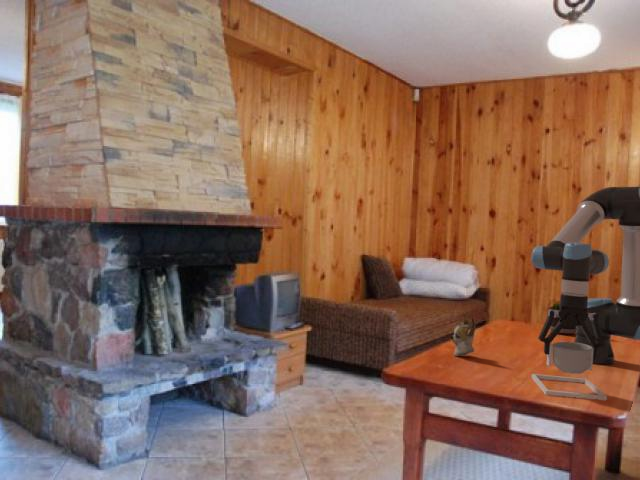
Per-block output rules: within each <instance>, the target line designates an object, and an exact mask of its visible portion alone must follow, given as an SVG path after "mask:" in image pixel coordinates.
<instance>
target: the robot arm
mask: <svg viewBox="0 0 640 480" xmlns="http://www.w3.org/2000/svg"><path fill="white" fill-rule="evenodd" d="M604 220H618V226H619V227H620V228H621V229H622V231H623V234H622V264H621V265H622V266H621V270H622V271H621V296H620V297H618V298H617V299H616V303H615V301H614V299H613V298H604V297H603V298H602V297H601V298H598V297H597V298H595V297H594V298H588V296H587V295H589V290H590V277H591V275H599V274H602V273H604V272H605V271H606V270H607V269H608V267H609V265H610V262H609V261H610V260H609V256H608V255H607V254H606V253H605V252H603V251H602V250H599V249H592V248H593V247H592V245H591V244H589V243H582V241H583V240H584V239H585V238H586V237H587V235H588V234H590V232H591V230H592V229H593V228H594V227H595V226H596V225H600V224H601V223H602V222H603V221H604ZM531 262H532V265H533V266H534V267H535V268H536V269H542V270H549V271H559V272H560V271H561V272H562V274H561V275H562V276H561V286H560V292H561V294H560V295H559V297H560V298H559V299H560V300H559V304H560V308H559V310H558V311H554V310H549V309H547V311H548V315H547V317H546V320H545V322H544V323H543V327H542V328H541V331H540V333H539V335H538V338H537V339H538V340H539V341H540V342H542V343H544V346H543V347H544V348H543V353H544V355H546V366H548V367H552V365H553V345H552V344H553V343H552V341H553V340H554V339H555V338H556V337H557V335H559V334H558V333H559V332H560V330H561V329H562V328H563V327H564V326H565V325H574V326H576V328H577V331H576V333H575V335H576V336H575V338H574V341H573V342H576V343H582V344H586V345H589V346H591V347H592V358H591V366H590V368H589V369H588V370H589V371H593V364H598V365H613V364H614V363H615V353H614V350H613V349H614V348H613V347H612V342H611V336H614V337H620V338H627V339H631V340H635V341H640V186H610V187H605V188H601V189H599V190H597V191H595V192H594V193H591V194H590V195H588V196H587V197H585V198H584V199H583V200H581V202H580V203H579V204H578V206H577V207H576V212H575V213H574V214H573V215H572V217H571V218H570V219H569V220H568V221H567V222H566V223H565V225H564V226H563V227H562V228H561V229H560V230H559V231H558V232H557V233H556V235H555V236H553V238H552V239H551V240H550V242H548V243H547V245H546V246H545V245H537V246H535V247H533V249H532V252H531ZM556 315H559V317H560V318H561V319H560V320H559V321H558V323H557V325H556V326H555V327H554V329H553V330H552V331H551V330H550V326H551V324H552V322H553V320H554V318H555V317H556ZM549 331H550V332H549ZM548 333H549V334H548Z"/></svg>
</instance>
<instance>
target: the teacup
mask: <svg viewBox="0 0 640 480" xmlns="http://www.w3.org/2000/svg"><path fill="white" fill-rule="evenodd" d="M551 344H552V345H553V350H552V364H553V365H554V366H555V367H556V368H557V369H558V370H559V371H560V372H562V373H566V374H572V375H575V374H576V375H578V374H579V375H580V374H584V373H585V372H586V371H588V370H589V368H590V366H591V358H592V347H591V346H589V345H586V344H582V343H576V342H574V341H565V340H560V341H556V342H553V343H551Z"/></svg>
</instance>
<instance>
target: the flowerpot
mask: <svg viewBox="0 0 640 480" xmlns="http://www.w3.org/2000/svg"><path fill="white" fill-rule="evenodd" d="M559 308H560V300H557V301H556V302H555V303H553V305H552V306H550V307H549V309H548V310H554V311H558V310H559ZM548 310H547V313H546V314H547V316H548ZM560 319H561V318H560V317H559V315H556V317H555V318H554V320H553V322H552V324H551V326H550V329H549V331H550V332H551V331H552V330H553V329H554V327H555V326H556V325H557V323H558V321H559V320H560ZM576 332H577V326H574V325H565V326H564V327H563V328H562V329H561V330H560V332H559V333H558V334H557V335H560V336H561V335H562V336H574V335H575V334H576Z"/></svg>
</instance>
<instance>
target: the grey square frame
mask: <svg viewBox="0 0 640 480" xmlns="http://www.w3.org/2000/svg"><path fill="white" fill-rule="evenodd" d="M531 379H532V380H533V381H534V383H535V384H536V385H537V387H538V388H540V390H541V391H542V392H543V393H544V395H545V396H552V397H553V396H554V397H563V396H565V397H566V398H574V397H576V399H585V398H586V399H587V400H588V399H589V400H595V399H598V400H599V401H606V400H607V401H608V396H607V395H606V394H605V393H603V391H602V390H600V389H599V388H598V387H597V386H596V385H595V384H593V383H592V382H591V381H590V380H588V378H582V377H581V378H579V377H572V376H558V375H548V374H547V375H546V374H537V373H532V374H531ZM542 380H545V381H546V380H547V381H556V382H566V381H567V382H569V383H577V382H579V383H580V384H585V385H586V386H587V387H588V386H589V387H588V388H589V389H591V390H592V391H593V392H594V393H595V394H592V393H582V392H581V393H580V392H571V391H563V390H562V391H561V390H553V389H552V390H551V389H548V388H547V386H545V384H544V383H543V382H542ZM596 393H597V394H598V395H597V394H596ZM565 397H564V398H565ZM598 400H597V401H598Z"/></svg>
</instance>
